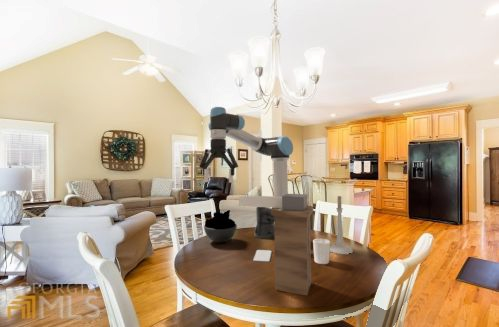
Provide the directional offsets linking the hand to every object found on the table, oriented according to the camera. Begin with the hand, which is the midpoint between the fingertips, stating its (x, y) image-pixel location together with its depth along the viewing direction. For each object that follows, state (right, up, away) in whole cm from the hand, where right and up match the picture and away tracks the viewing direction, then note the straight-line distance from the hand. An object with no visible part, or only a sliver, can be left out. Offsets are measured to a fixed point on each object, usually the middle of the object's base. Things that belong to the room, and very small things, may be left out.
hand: (218, 182), depth 120 cm
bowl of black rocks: (-3, -39, +31) cm, 50 cm away
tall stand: (+32, -38, -26) cm, 56 cm away
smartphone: (+22, -39, +6) cm, 45 cm away
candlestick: (+65, -39, +14) cm, 77 cm away
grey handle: (+24, -8, -22) cm, 34 cm away
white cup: (+50, -39, -2) cm, 63 cm away
